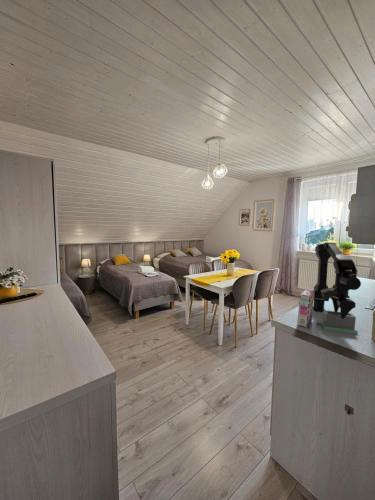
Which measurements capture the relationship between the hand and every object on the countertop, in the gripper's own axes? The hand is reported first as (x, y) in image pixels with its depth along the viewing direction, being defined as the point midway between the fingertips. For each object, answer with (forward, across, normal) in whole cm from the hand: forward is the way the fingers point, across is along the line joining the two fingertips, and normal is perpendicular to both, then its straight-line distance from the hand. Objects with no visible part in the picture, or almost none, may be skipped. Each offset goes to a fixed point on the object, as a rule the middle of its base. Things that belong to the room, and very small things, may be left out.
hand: (339, 314), depth 110 cm
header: (+7, 0, 0) cm, 7 cm away
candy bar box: (+7, -1, -14) cm, 16 cm away
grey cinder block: (+5, 0, 0) cm, 5 cm away
